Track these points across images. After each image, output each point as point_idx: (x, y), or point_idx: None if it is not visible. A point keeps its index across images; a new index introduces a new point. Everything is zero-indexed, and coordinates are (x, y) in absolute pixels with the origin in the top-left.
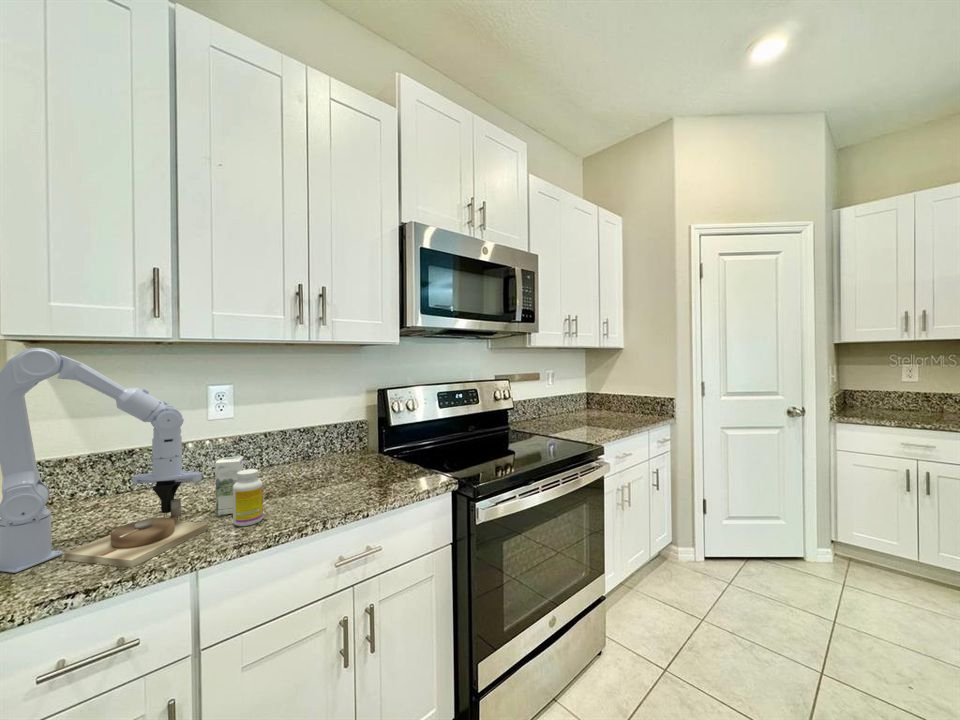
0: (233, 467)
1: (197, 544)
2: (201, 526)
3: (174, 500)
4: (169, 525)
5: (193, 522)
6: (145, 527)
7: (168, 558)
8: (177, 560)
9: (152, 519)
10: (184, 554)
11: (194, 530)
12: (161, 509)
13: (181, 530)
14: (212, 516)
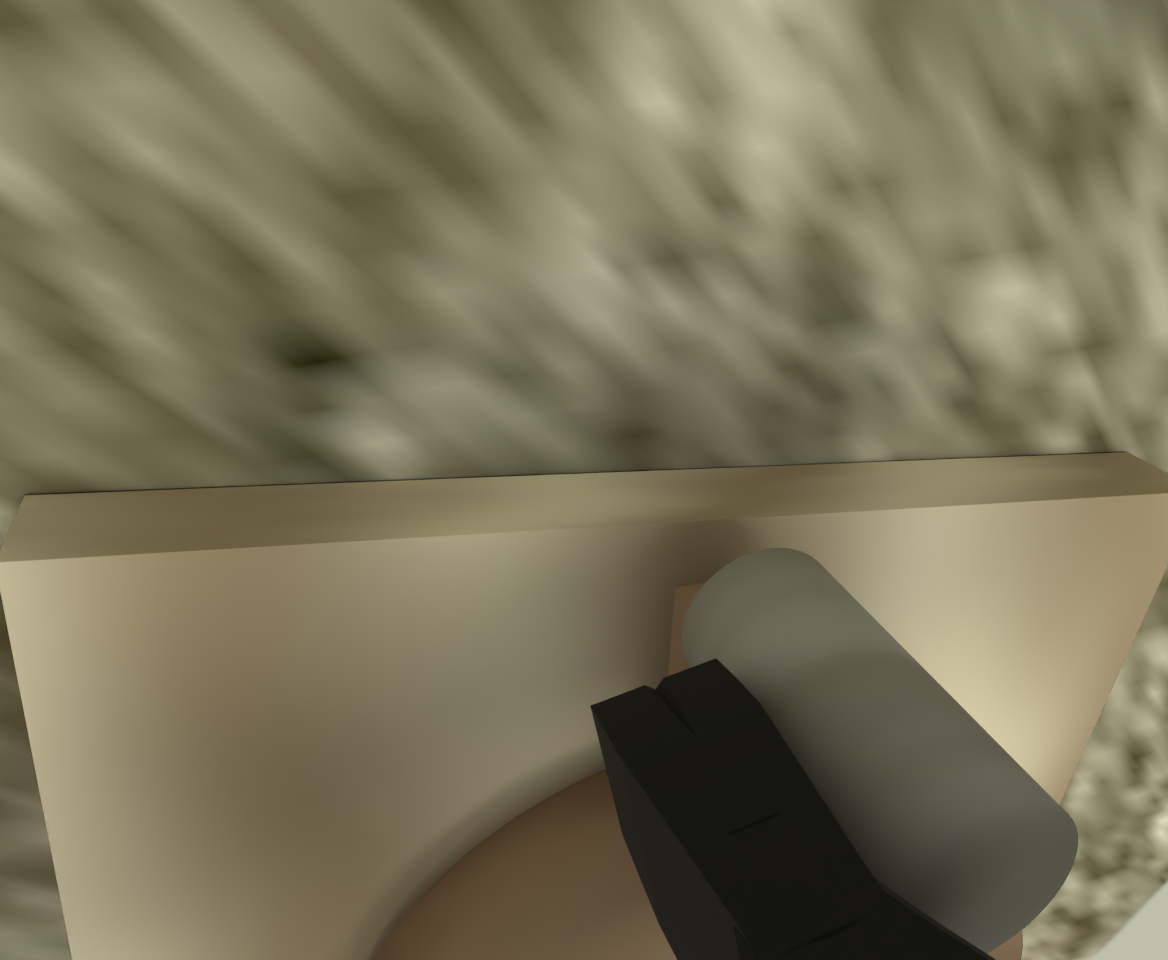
0: None
1: (1151, 727)
2: (1154, 581)
3: (984, 929)
4: (1008, 949)
5: (994, 506)
6: None
7: (1042, 929)
8: (1116, 918)
9: (611, 952)
10: (1124, 859)
11: (1113, 672)
12: (665, 923)
13: None
14: None
